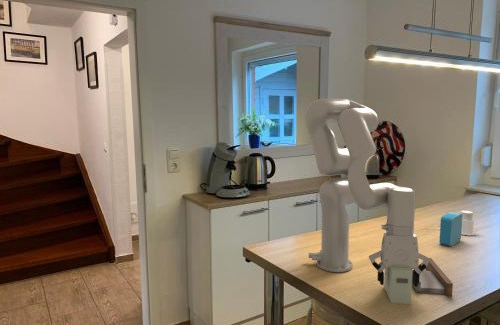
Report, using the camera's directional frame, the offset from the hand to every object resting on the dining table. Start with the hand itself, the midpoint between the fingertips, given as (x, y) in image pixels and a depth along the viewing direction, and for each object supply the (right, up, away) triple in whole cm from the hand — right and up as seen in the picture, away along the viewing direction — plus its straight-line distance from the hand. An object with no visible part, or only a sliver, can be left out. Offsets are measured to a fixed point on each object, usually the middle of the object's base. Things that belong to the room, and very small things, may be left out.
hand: (397, 284), depth 115 cm
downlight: (+52, +5, +56) cm, 77 cm away
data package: (+40, +3, +45) cm, 60 cm away
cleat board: (+13, -2, +10) cm, 16 cm away
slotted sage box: (0, -4, +1) cm, 4 cm away
